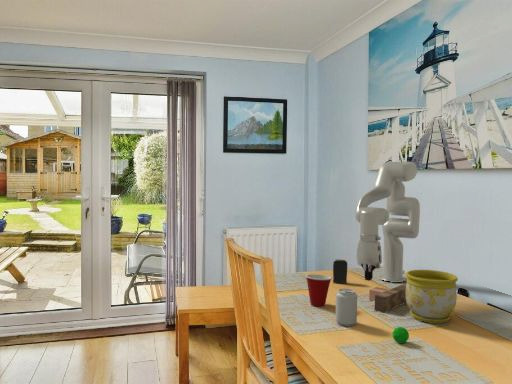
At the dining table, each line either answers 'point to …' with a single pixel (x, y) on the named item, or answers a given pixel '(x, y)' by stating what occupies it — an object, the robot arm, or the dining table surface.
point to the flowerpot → (431, 295)
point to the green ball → (400, 335)
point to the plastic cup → (318, 288)
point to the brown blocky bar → (390, 298)
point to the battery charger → (339, 271)
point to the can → (346, 307)
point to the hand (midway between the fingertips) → (368, 279)
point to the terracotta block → (375, 292)
